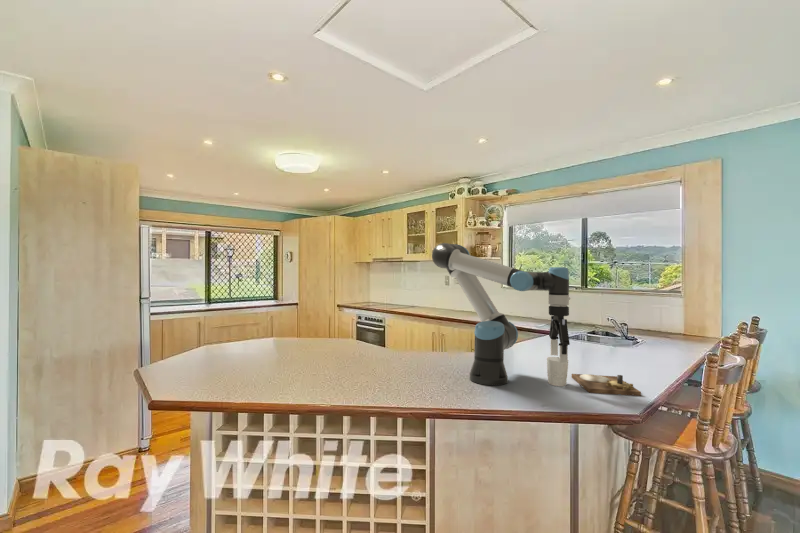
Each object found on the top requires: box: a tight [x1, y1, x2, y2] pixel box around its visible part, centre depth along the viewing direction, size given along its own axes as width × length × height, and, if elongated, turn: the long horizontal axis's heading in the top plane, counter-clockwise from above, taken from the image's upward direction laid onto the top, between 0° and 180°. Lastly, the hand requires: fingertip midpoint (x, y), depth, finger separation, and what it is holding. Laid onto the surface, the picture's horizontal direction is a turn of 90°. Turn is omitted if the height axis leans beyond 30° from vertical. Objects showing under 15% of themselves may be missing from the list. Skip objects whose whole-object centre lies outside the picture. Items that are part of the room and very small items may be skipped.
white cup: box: [546, 356, 569, 387], centre depth 151 cm, size 8×8×10 cm
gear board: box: [571, 373, 642, 397], centre depth 150 cm, size 18×21×6 cm
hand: (558, 358), depth 151 cm, fingers open, 13 cm apart
